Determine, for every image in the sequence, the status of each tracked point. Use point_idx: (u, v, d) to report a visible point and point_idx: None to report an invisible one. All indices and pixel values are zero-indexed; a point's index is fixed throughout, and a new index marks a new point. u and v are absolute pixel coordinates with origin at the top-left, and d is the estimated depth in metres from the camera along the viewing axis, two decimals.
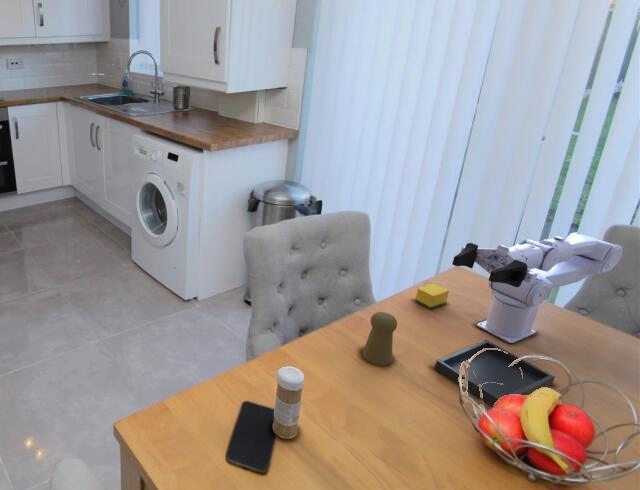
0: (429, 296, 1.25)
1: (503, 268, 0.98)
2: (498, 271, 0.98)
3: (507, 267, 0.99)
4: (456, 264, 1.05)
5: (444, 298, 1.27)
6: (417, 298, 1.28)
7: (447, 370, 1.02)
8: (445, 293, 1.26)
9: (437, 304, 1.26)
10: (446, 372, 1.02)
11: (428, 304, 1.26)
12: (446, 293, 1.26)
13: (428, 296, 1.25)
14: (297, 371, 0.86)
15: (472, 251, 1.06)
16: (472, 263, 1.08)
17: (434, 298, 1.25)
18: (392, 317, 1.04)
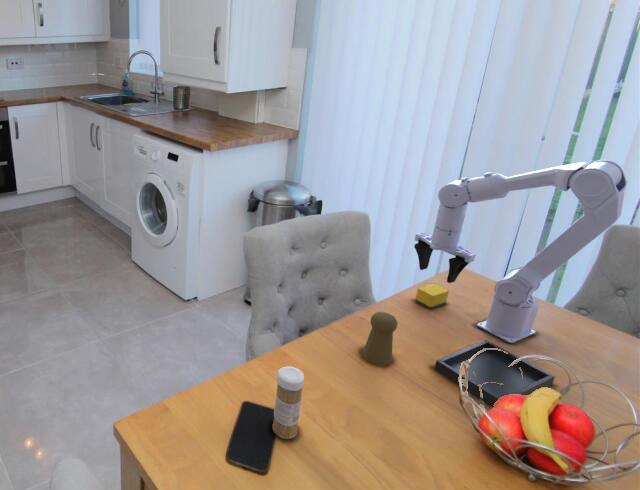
0: (429, 296, 1.25)
1: (450, 273, 1.20)
2: (450, 279, 1.21)
3: (451, 271, 1.20)
4: (426, 267, 1.29)
5: (444, 298, 1.27)
6: (417, 298, 1.28)
7: (447, 370, 1.02)
8: (445, 293, 1.26)
9: (437, 304, 1.26)
10: (446, 372, 1.02)
11: (428, 304, 1.26)
12: (446, 293, 1.26)
13: (428, 296, 1.25)
14: (297, 371, 0.86)
15: (423, 253, 1.26)
16: None
17: (434, 298, 1.25)
18: (392, 317, 1.04)
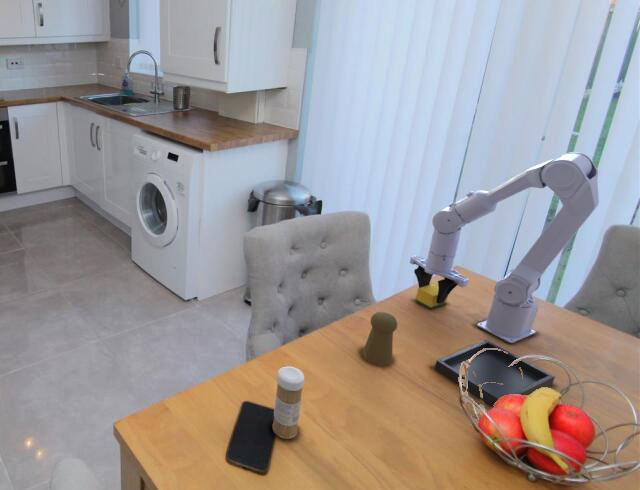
0: (430, 296, 1.25)
1: (439, 295, 1.24)
2: (439, 300, 1.25)
3: (440, 292, 1.23)
4: None
5: None
6: (417, 298, 1.28)
7: (447, 370, 1.02)
8: None
9: (437, 304, 1.26)
10: (446, 372, 1.02)
11: (428, 304, 1.26)
12: None
13: (428, 296, 1.25)
14: (297, 371, 0.86)
15: (422, 278, 1.27)
16: None
17: (435, 298, 1.25)
18: (392, 317, 1.04)
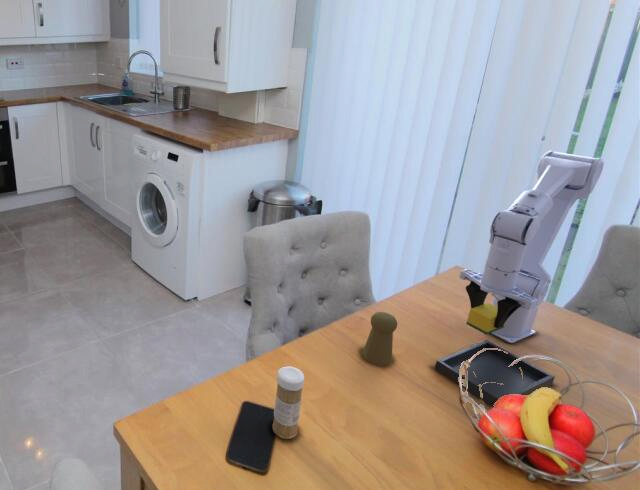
0: (486, 318, 1.03)
1: (498, 317, 1.02)
2: (498, 324, 1.03)
3: (499, 314, 1.02)
4: None
5: None
6: (469, 321, 1.07)
7: (447, 370, 1.02)
8: None
9: (494, 328, 1.04)
10: (446, 372, 1.02)
11: (483, 328, 1.04)
12: None
13: (483, 319, 1.04)
14: (297, 371, 0.86)
15: (476, 297, 1.06)
16: None
17: (492, 322, 1.03)
18: (392, 317, 1.04)
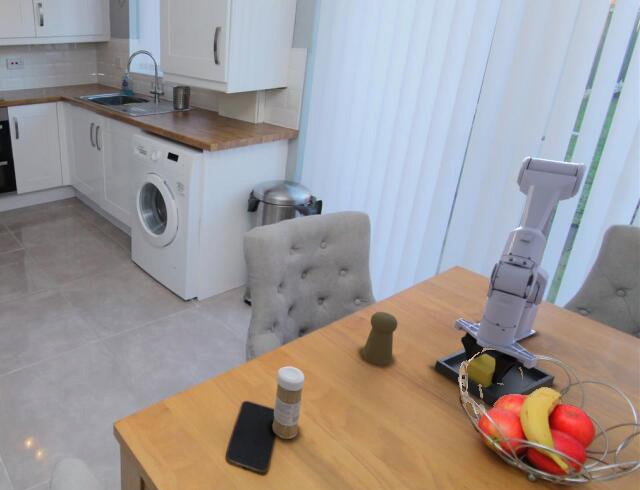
0: (483, 373, 0.97)
1: (495, 374, 0.96)
2: (495, 380, 0.96)
3: (497, 371, 0.95)
4: None
5: None
6: None
7: (447, 370, 1.02)
8: None
9: (492, 383, 0.98)
10: (446, 372, 1.02)
11: (481, 384, 0.97)
12: None
13: (480, 373, 0.97)
14: (297, 371, 0.86)
15: (472, 350, 0.99)
16: None
17: (490, 377, 0.96)
18: (392, 317, 1.04)
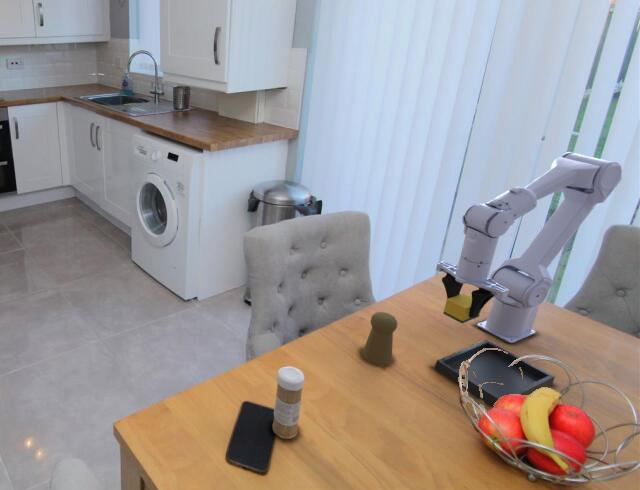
0: (461, 308, 1.07)
1: (472, 307, 1.06)
2: (472, 314, 1.07)
3: (474, 304, 1.06)
4: None
5: None
6: (446, 310, 1.10)
7: (447, 370, 1.02)
8: None
9: (470, 317, 1.08)
10: (446, 372, 1.02)
11: (459, 318, 1.08)
12: None
13: (459, 308, 1.07)
14: (297, 371, 0.86)
15: (452, 288, 1.10)
16: None
17: (467, 311, 1.07)
18: (392, 317, 1.04)
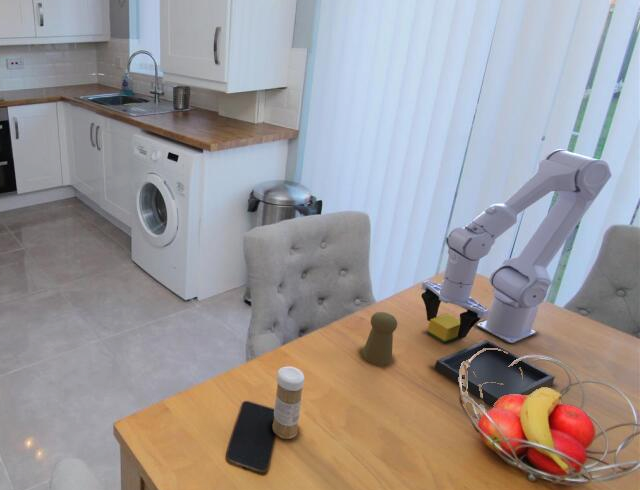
0: (444, 328, 1.12)
1: (461, 329, 1.10)
2: (461, 335, 1.10)
3: (462, 326, 1.09)
4: None
5: None
6: (429, 330, 1.15)
7: (447, 370, 1.02)
8: None
9: (452, 337, 1.13)
10: (446, 372, 1.02)
11: (442, 337, 1.13)
12: None
13: (441, 328, 1.12)
14: (297, 371, 0.86)
15: (431, 304, 1.16)
16: None
17: (449, 331, 1.12)
18: (392, 317, 1.04)
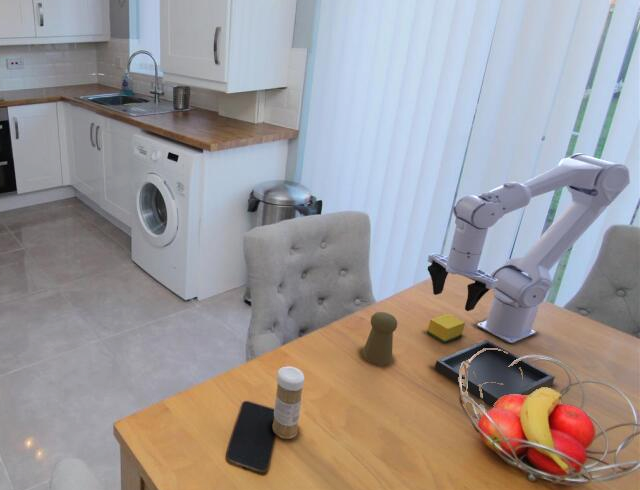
0: (444, 328, 1.12)
1: (468, 301, 1.07)
2: (468, 307, 1.08)
3: (470, 298, 1.06)
4: (441, 292, 1.15)
5: (460, 330, 1.14)
6: (429, 330, 1.15)
7: (447, 370, 1.02)
8: (461, 325, 1.13)
9: (452, 337, 1.13)
10: (446, 372, 1.02)
11: (442, 337, 1.13)
12: (462, 325, 1.13)
13: (441, 328, 1.12)
14: (297, 371, 0.86)
15: (437, 276, 1.13)
16: None
17: (449, 331, 1.12)
18: (392, 317, 1.04)
